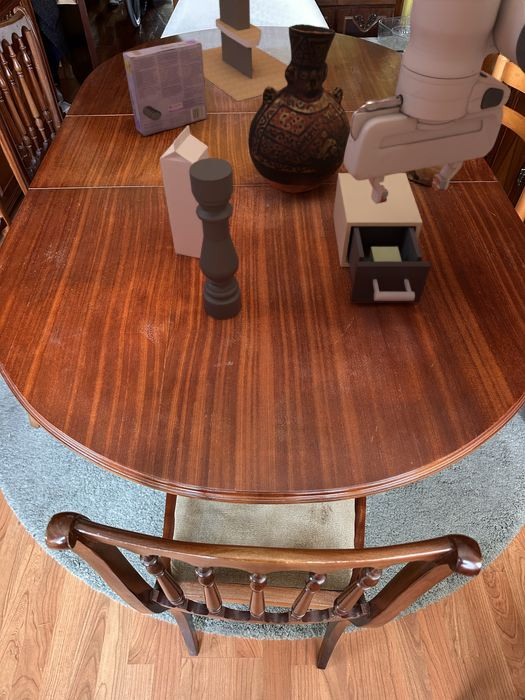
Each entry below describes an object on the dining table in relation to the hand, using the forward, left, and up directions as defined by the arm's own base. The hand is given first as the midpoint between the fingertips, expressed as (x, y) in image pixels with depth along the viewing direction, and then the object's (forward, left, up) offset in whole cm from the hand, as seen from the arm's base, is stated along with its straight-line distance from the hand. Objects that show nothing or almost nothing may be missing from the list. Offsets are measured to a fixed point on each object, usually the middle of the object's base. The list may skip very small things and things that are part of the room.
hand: (409, 194), depth 70 cm
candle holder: (+27, +1, -21) cm, 34 cm away
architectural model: (+27, -101, -21) cm, 106 cm away
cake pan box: (+43, -65, -21) cm, 81 cm away
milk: (+33, -15, -21) cm, 42 cm away
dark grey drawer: (0, -4, -20) cm, 20 cm away
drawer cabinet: (0, -17, -21) cm, 27 cm away
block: (0, -4, -19) cm, 19 cm away
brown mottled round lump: (-16, -41, -21) cm, 49 cm away
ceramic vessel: (+13, -37, -21) cm, 44 cm away
